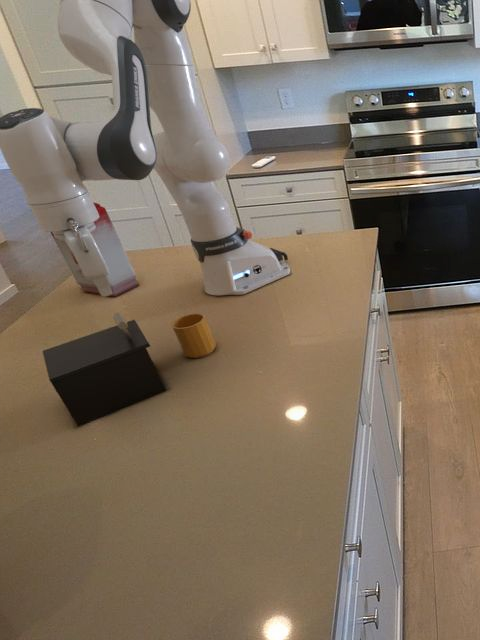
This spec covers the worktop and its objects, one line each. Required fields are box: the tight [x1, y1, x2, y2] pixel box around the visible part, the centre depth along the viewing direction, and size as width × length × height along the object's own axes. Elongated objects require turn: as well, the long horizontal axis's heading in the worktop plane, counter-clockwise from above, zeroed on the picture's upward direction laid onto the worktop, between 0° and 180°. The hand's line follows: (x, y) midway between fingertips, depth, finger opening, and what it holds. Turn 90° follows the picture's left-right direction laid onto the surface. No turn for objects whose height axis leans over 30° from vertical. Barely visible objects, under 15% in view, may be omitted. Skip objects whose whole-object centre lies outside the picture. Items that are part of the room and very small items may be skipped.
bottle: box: [50, 201, 140, 297], centre depth 151 cm, size 14×10×30 cm
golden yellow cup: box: [171, 312, 217, 359], centre depth 122 cm, size 6×6×8 cm
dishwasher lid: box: [42, 312, 151, 384], centre depth 107 cm, size 16×14×5 cm
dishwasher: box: [51, 348, 167, 427], centre depth 110 cm, size 16×14×10 cm
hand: (102, 287), depth 104 cm, fingers open, 8 cm apart
